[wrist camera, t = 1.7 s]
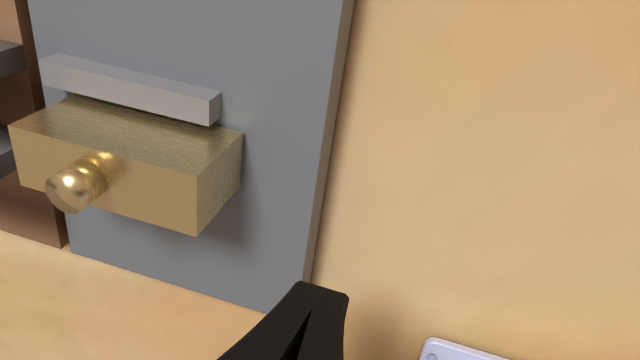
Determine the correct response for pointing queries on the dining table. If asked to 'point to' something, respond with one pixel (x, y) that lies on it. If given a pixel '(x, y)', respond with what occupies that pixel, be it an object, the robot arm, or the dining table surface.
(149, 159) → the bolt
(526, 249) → the dining table surface
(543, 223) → the dining table surface
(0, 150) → the panel
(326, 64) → the door leaf
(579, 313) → the dining table surface
